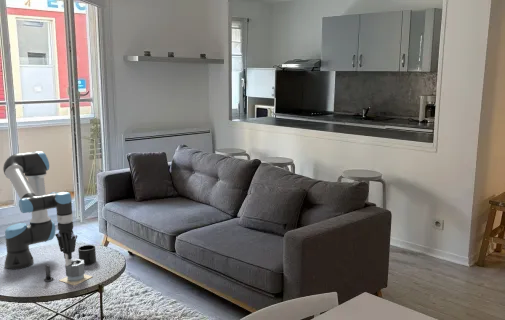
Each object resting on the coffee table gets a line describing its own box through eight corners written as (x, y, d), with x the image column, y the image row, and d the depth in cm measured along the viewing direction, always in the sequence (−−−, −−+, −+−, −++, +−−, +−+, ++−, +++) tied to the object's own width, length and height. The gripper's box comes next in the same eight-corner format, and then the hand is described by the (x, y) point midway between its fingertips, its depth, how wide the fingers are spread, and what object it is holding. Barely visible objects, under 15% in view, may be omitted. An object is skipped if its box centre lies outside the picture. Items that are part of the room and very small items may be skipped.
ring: (66, 277, 254) (65, 267, 253) (66, 271, 263) (65, 260, 262) (84, 275, 257) (84, 264, 256) (84, 268, 266) (83, 258, 265)
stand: (41, 280, 259) (40, 266, 258) (49, 277, 263) (48, 263, 262) (47, 282, 257) (46, 268, 255) (55, 279, 261) (54, 265, 259)
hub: (59, 280, 259) (57, 264, 257) (77, 272, 269) (76, 257, 267) (74, 285, 253) (73, 269, 251) (92, 277, 263) (91, 261, 261)
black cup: (82, 268, 275) (81, 253, 274) (77, 261, 285) (76, 247, 284) (99, 264, 281) (98, 249, 279) (93, 258, 290) (92, 243, 289)
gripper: (50, 222, 251) (53, 265, 255) (69, 225, 246) (73, 269, 250) (60, 218, 258) (64, 260, 262) (80, 221, 253) (83, 263, 257)
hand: (68, 264), depth 256 cm, fingers closed
